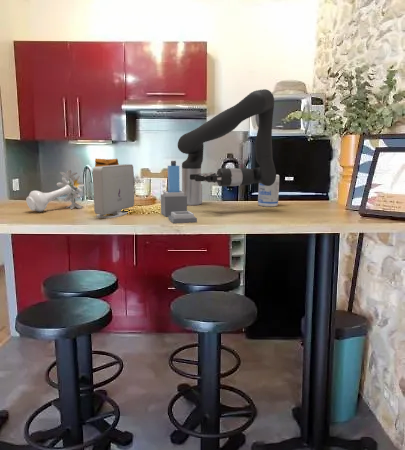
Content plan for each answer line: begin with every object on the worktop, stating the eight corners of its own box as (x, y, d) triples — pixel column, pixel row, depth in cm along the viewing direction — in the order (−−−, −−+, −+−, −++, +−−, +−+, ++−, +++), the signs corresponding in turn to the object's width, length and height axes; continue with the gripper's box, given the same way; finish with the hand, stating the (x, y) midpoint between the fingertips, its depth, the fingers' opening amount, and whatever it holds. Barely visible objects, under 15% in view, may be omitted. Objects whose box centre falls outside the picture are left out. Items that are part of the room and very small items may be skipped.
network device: (108, 219, 165) (106, 167, 161) (88, 218, 167) (86, 166, 164) (139, 210, 188) (138, 164, 185) (121, 209, 191) (120, 164, 187)
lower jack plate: (168, 219, 166) (168, 211, 166) (190, 218, 169) (190, 210, 168) (173, 223, 158) (173, 215, 157) (196, 222, 160) (196, 214, 160)
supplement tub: (255, 206, 203) (256, 175, 200) (260, 203, 211) (261, 173, 209) (276, 207, 199) (277, 175, 197) (280, 204, 208) (281, 174, 205)
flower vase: (42, 229, 181) (91, 207, 197) (33, 188, 172) (85, 170, 188) (26, 220, 189) (75, 200, 205) (16, 181, 180) (68, 163, 196)
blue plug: (167, 194, 178) (167, 160, 175) (177, 194, 179) (177, 160, 176) (169, 195, 174) (169, 160, 171) (179, 195, 175) (179, 160, 172)
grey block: (161, 213, 181) (160, 190, 179) (181, 212, 183) (181, 190, 181) (165, 216, 172) (164, 193, 170) (187, 215, 175) (187, 192, 173)
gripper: (224, 167, 188) (188, 167, 183) (235, 169, 174) (197, 169, 170) (223, 184, 189) (188, 185, 184) (235, 187, 176) (197, 188, 171)
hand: (192, 177), depth 177 cm, fingers open, 8 cm apart
